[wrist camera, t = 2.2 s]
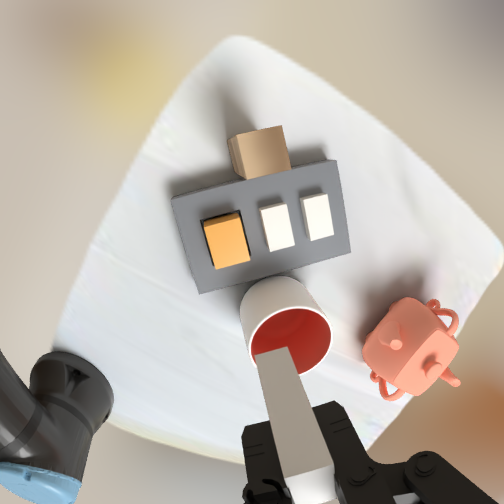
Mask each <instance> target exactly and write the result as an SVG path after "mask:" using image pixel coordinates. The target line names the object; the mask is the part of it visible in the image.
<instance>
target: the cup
mask: <svg viewBox="0 0 504 504" xmlns="http://www.w3.org/2000/svg"><path fill="white" fill-rule="evenodd" d="M240 320H241V324H242V328H243V333H244V337H245V341H246V346H247V350H248V354H249V357H250V360H251V362H252V363H253V365H254V366H255V367H256V368H257V365H256V360H255V356H254V355H258V354H261V353H265V352H269V351H273V350H276V349H280V348H283V347H288V350H289V352H290V355H291V357H292V360H293V362H294V365H295V367H296V370H297V372H298V375H299V376H300V375H302V374H305V373H307V372H309V371H310V370H312V369H314V368H315V367H316V366H317V365H319V364H320V363H321V362H322V361H323V359H324V358H325V357H326V355H327V354H328V352H329V350H330V348H331V345H332V341H333V329H332V326H331V323H330V321H329V319H328V318H327V317H326V315H325V314H324V312H323V311H322V310H321V308H320V307H319V306H318V304H317V303H316V301H315V300H314V299H313V297H312V296H311V295H310V293H309V292H308V290H307V289H306V288H305V287H304V286H303V285H302V284H301V283H300V282H298V281H297V280H295V279H293V278H290V277H286V276H272V277H268V278H265V279H262V280H260V281H259V282H257V283H255V284H254V285H253V286H252V287H251V288H250V289H249V290H248V291H247V292H246V294H245V295H244V297H243V299H242V302H241V305H240Z"/></svg>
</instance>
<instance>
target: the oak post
mask: <svg viewBox="0 0 504 504" xmlns="http://www.w3.org/2000/svg"><path fill="white" fill-rule="evenodd" d="M227 143H228V147H229V151H230V155H231V160H232V164H233V168H234V172H235V173H237V174H238V175H240V176H242V177H243V178H245V179H247V180H248V179H252V178H257V177H261V176H265V175H269V174H274V173H278V172H282V171H287V170H291V165H290V160H289V156H288V151H287V147H286V142H285V138H284V133H283V129H282V125H281V126H275V127H270V128H265V129H261V130H256V131H251V132H247V133H242V134H238V135H235V136H234V137H232V138H230V139H229V140H227Z"/></svg>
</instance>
